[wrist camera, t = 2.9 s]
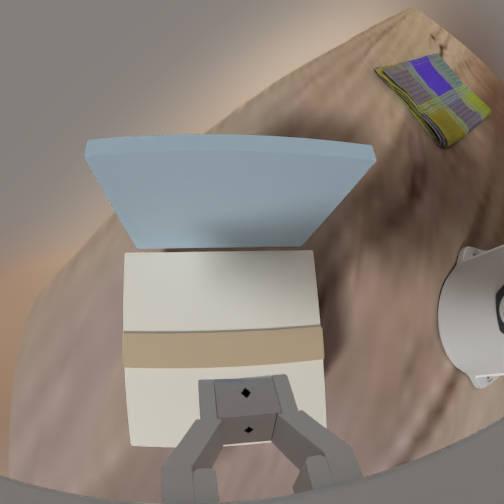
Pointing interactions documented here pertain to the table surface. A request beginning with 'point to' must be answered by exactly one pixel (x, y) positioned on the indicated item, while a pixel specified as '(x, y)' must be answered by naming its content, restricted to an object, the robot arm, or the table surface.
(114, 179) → the flap
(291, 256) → the carton
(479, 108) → the dish towel
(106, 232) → the table surface
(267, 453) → the table surface
